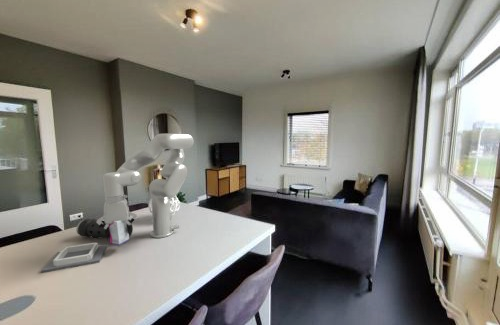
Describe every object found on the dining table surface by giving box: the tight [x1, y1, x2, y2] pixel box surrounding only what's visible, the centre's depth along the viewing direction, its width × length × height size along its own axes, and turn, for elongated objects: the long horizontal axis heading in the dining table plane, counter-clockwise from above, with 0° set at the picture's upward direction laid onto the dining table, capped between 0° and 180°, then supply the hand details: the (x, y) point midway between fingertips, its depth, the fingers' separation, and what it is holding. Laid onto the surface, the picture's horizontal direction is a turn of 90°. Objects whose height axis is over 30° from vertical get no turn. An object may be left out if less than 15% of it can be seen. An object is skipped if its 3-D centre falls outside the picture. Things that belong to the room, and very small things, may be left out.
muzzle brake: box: [75, 218, 134, 240], centre depth 119 cm, size 10×28×10 cm, turn 78°
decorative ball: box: [147, 195, 181, 218], centre depth 148 cm, size 20×20×19 cm
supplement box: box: [109, 220, 130, 246], centre depth 105 cm, size 6×6×12 cm
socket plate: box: [40, 242, 108, 274], centre depth 99 cm, size 20×16×4 cm
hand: (119, 233), depth 105 cm, fingers closed on supplement box, 7 cm apart
